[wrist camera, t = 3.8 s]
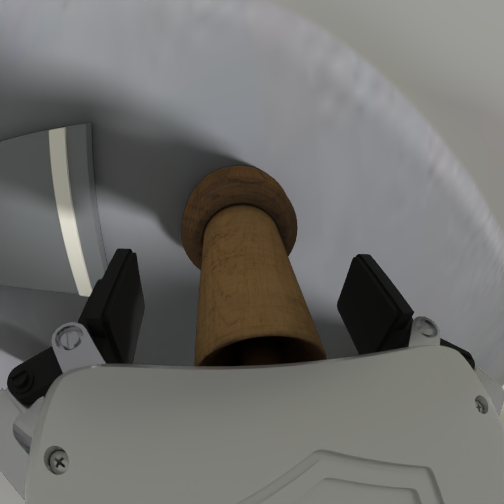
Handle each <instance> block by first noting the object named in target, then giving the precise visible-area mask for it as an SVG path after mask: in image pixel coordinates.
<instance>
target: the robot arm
mask: <svg viewBox="0 0 504 504" xmlns="http://www.w3.org/2000/svg"><path fill="white" fill-rule="evenodd" d="M144 307H145V305H144V298H143V293H142V287H141V281H140V275H139V269H138V262H137V256H136V253H132V250H131V249H117V250H116V252H115V254H114V256H113V258H112V260H111V262H110V264H109V266H108V268H107V270H106V272H105V274H104V276H103V278H102V279H99V280H98V281H97V282H96V284H95V286H94V288H93V290H92V292H91V294H90V297H89V299H88V301H87V303H86V305H85V307H84V310H83V312H82V314H81V316H80V319H79V321H78V323H76V322H70V323H66V324H63V325H61V326H60V327H58V328H57V329H56V330H55V332H54V333H53V335H52V339H51V343H52V347H50V348H48V349H47V350H45V351H43V352H41V353H40V354H38V355H36V356H34V357H32V358H31V359H29V360H27V361H25V362H24V363H22V364H20V365H18V366H17V367H15V368H14V369H13V370H12V371H11V372H10V374H9V376H8V380H7V386H8V387H7V388H6V389H5V390H4V389H3V388H2V389H1V390H0V471H1V472H2V473H3V475H4V476H5V477H6V478H7V480H8V481H9V482H10V484H11V485H12V486H13V487H14V488H15V490H16V491H17V492H18V493H19V494H20V495H21V497H22V498H23V499H24V500H25V504H504V427H503V425H502V422H501V420H500V418H499V415H500V412H501V409H502V405H503V402H504V390H503V388H502V387H501V386H500V385H499V384H498V383H497V382H496V381H495V380H493V379H492V378H491V377H490V376H489V375H488V374H486V373H485V372H484V371H483V370H482V369H480V368H479V367H478V366H477V367H476V368H475V362H474V360H473V358H472V356H471V354H470V353H469V352H467V351H465V350H463V349H461V348H459V347H457V346H455V345H453V344H451V343H449V342H447V341H445V340H443V339H441V338H440V329H439V327H438V326H437V324H436V323H435V322H434V321H432V320H431V319H429V318H427V317H423V316H419V317H416V318H415V319H414V320H413V318H412V315H413V313H414V311H413V310H412V309H411V307H410V306H409V304H408V303H407V302H406V300H405V299H404V298H403V296H402V295H401V294H400V292H399V291H398V290H397V288H396V287H395V286H394V284H393V283H392V282H391V280H390V279H389V278H388V277H387V275H386V274H385V273H384V271H383V270H382V269H381V268H380V266H379V265H378V264H377V263H376V261H375V260H374V259H373V258H372V256H371V255H369V254H358V255H357V256H356V257H354V258H353V260H352V262H351V265H350V268H349V271H348V274H347V277H346V280H345V283H344V286H343V289H342V291H341V294H340V297H339V300H338V302H337V309H338V311H339V313H340V315H341V317H342V319H343V321H344V323H345V325H346V328H347V330H348V332H349V334H350V336H351V338H352V340H353V342H354V344H355V346H356V348H357V351H358V353H359V355H358V356H351V357H344V358H336V359H328V360H319V361H310V362H299V363H287V364H273V365H255V366H164V365H144V364H132V363H133V358H134V353H135V349H136V344H137V339H138V335H139V330H140V326H141V322H142V317H143V313H144Z"/></svg>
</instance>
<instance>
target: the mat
mask: <svg viewBox="0 0 504 504" xmlns="http://www.w3.org/2000/svg"><path fill="white" fill-rule="evenodd" d="M107 268H108V265H107V261H106V256H105V251H104V245H103V240H102V234H101V228H100V221H99V215H98V207H97V199H96V190H95V180H94V168H93V152H92V123H85V124H78V125H71V126H65V127H59V128H54V129H49V130H44V131H39V132H35V133H30V134H26V135H22V136H18V137H14V138H10V139H7V140H3V141H0V285H4V286H11V287H19V288H27V289H35V290H44V291H54V292H64V293H74V294H79V295H80V296H89V297H90V294H91V292H92V290H93V288H94V286H95V284H96V282H97V281H98V280H99V279H102V278H103V276H104V274H105V272H106V270H107Z"/></svg>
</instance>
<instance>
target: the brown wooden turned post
mask: <svg viewBox="0 0 504 504" xmlns="http://www.w3.org/2000/svg"><path fill="white" fill-rule="evenodd" d="M296 236H297V219H296V214H295V211H294V208H293V206H292V204H291V202H290V200H289V199H288V197H287V195H286V194H285V192H284V190H283V189H282V187H281V186H280V185H279V183H278V182H277V181H276V180H275V179H274V178H272V177H271V176H270V175H268V174H267V173H265V172H263V171H261V170H259V169H256V168H253V167H249V166H229V167H225V168H221V169H218V170H216V171H214V172H212V173H210V174H209V175H207V176H206V177H205V178H203V179H202V180H201V181H200V182H199V183H198V184H197V186H196V187H195V188H194V190H193V191H192V193H191V195H190V197H189V199H188V201H187V204H186V207H185V212H184V215H183V219H182V224H181V237H182V243H183V246H184V249H185V251H186V253H187V255H188V257H189V258H190V260H191V261H192V262H193V264H194V265H195V266H196V267H197V268H199V269H200V270H201V277H200V289H199V302H198V316H197V331H196V347H195V366H255V365H273V364H287V363H299V362H310V361H319V360H327V358H326V354H325V351H324V349H323V346H322V343H321V340H320V338H319V335H318V333H317V330H316V328H315V325H314V323H313V320H312V317H311V315H310V313H309V310H308V307H307V305H306V302H305V300H304V297H303V295H302V292H301V289H300V287H299V284H298V282H297V279H296V276H295V274H294V271H293V269H292V266H291V263H290V261H289V258H288V256H289V254H290V253H291V251H292V249H293V246H294V244H295V241H296Z"/></svg>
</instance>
